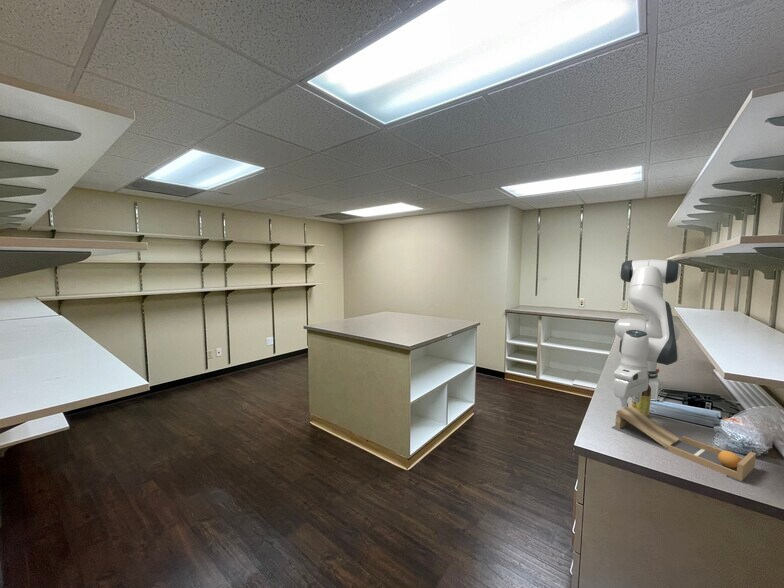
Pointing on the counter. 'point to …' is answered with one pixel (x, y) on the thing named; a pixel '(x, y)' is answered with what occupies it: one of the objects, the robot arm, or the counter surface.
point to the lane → (699, 454)
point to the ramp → (645, 426)
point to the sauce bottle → (644, 401)
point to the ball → (728, 459)
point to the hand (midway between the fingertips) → (630, 404)
